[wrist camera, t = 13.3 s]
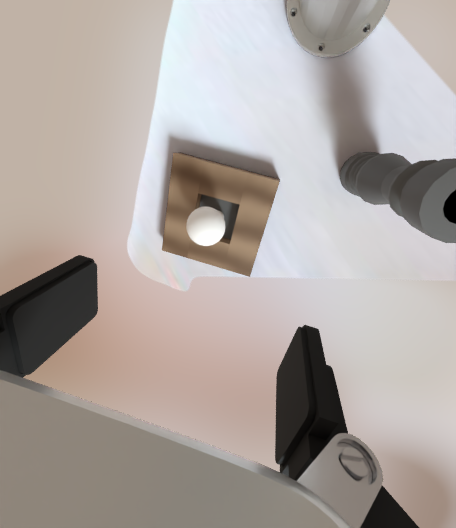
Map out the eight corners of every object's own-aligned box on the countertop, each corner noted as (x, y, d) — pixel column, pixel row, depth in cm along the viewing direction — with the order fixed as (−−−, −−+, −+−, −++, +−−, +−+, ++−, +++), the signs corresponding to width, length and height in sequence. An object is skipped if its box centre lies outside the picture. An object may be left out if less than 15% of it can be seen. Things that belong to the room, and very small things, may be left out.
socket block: (179, 152, 43) (173, 152, 40) (279, 179, 42) (279, 181, 39) (168, 244, 51) (162, 250, 48) (251, 269, 50) (249, 276, 47)
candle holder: (347, 149, 38) (440, 148, 16) (389, 154, 37) (550, 161, 15) (334, 190, 41) (400, 238, 19) (373, 196, 40) (490, 253, 18)
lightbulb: (213, 192, 44) (193, 201, 34) (241, 213, 45) (228, 227, 35) (197, 219, 47) (173, 234, 37) (222, 238, 47) (206, 258, 37)
